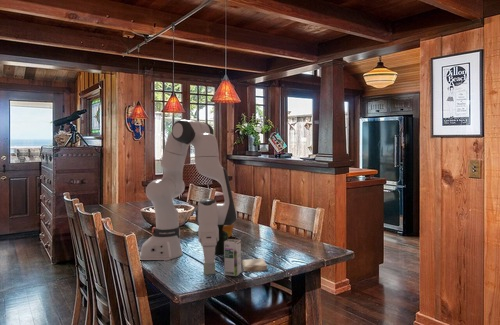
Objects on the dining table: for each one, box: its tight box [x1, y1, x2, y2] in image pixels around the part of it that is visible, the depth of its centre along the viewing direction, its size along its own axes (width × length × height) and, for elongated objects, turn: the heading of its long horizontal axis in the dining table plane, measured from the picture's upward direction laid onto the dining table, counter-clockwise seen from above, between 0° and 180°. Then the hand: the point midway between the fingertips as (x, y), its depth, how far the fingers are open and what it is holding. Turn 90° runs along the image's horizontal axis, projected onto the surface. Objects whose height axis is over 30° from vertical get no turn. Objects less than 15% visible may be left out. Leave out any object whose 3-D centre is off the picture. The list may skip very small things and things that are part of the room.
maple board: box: [241, 258, 268, 272], centre depth 176 cm, size 10×10×2 cm
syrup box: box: [223, 238, 242, 277], centre depth 168 cm, size 6×6×14 cm
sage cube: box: [203, 258, 216, 275], centre depth 171 cm, size 5×5×5 cm
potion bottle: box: [215, 225, 229, 256], centre depth 198 cm, size 8×8×18 cm
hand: (209, 268), depth 171 cm, fingers closed on sage cube, 5 cm apart
